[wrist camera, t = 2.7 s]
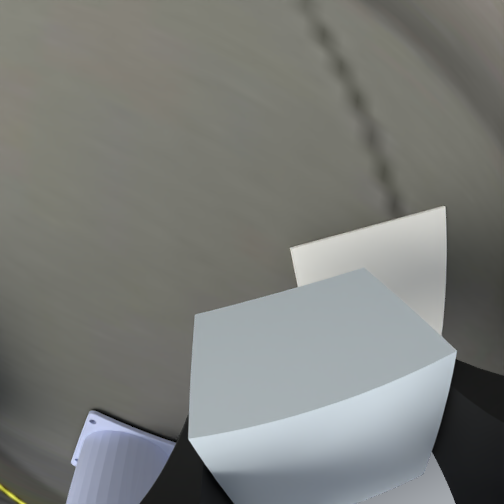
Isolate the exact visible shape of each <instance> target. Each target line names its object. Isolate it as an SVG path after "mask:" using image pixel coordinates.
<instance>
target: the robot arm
mask: <svg viewBox="0 0 504 504" xmlns="http://www.w3.org/2000/svg"><path fill="white" fill-rule="evenodd" d="M188 429H189V414H188V417H187V419H186V422H185V424H184V426H183V429H182V431H181V433H180V436H179V438H178V440H177V442H176V443H175V442H172V441H169V440H166V439H163V438H161V437H158V436H155V435H152V434H150V433H147V432H144V431H142V430H139V429H137V428H134V427H132V426H129V425H127V424H124V423H122V422H119V421H117V420H115V419H113V418H110V417H108V416H106V415H104V414H101V413H99V412H97V411H93V410H92V411H90V412H89V414H88V416H87V419H86V421H85V424H84V427H83V429H82V432H81V435H80V438H79V440H78V443H77V446H76V449H75V452H74V455H73V457H72V460H71V463H72V465H74V466H75V467H76V469H75V472H74V476H73V479H72V483H71V487H70V490H69V494H68V498H67V502H66V504H234V503H233V502H232V500H231V499H230V498H229V496H228V495H227V494H226V492H225V491H224V490H223V488H222V487H221V486H220V484H219V483H218V482H217V480H216V479H215V478H214V476H213V475H212V473H211V472H210V471H209V469H208V468H207V466H206V465H205V463H204V462H203V461H202V459H201V458H200V456H199V455H198V453H197V452H196V450H195V449H194V447H193V446H192V444H191V442H190V441H189V439H188ZM432 453H433V454H434V456H435V458H436V460H437V462H438V464H439V466H440V468H441V470H442V472H443V475H444V477H445V479H446V481H447V483H448V486H449V488H450V490H451V493H452V495H453V498H454V500H455V503H456V504H504V376H503V375H499V374H496V373H492V372H489V371H485V370H483V369H480V368H477V367H474V366H472V365H469V364H466V363H464V362H461V361H459V360H457V359H455V365H454V370H453V375H452V379H451V384H450V388H449V393H448V397H447V401H446V405H445V409H444V413H443V416H442V420H441V423H440V427H439V430H438V434H437V437H436V440H435V443H434V446H433V449H432Z"/></svg>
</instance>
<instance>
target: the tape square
mask: <svg viewBox="0 0 504 504" xmlns="http://www.w3.org/2000/svg"><path fill="white" fill-rule="evenodd" d="M290 251H291V256H292V261H293V265H294V270H295V275H296V280H297V285H298V287H300V286H304V285H307V284H311V283H314V282H318V281H321V280H324V279H328V278H331V277H335V276H338V275H341V274H344V273H348V272H351V271H354V270H358V269H361V268H365V269H366V270H367V271H369V272H370V273H371V274H372V275H373V276H375V277H376V278H377V279H378V280H379V281H380V282H382V283H383V284H384V285H385V286H386V287H387V288H388V289H390V290H391V291H392V292H393V293H394V294H395V295H396V296H398V297H399V298H400V299H401V300H402V301H403V302H404V303H406V304H407V305H408V306H409V307H410V308H411V309H412V310H413V311H414V312H416V313H417V314H418V315H419V316H420V317H421V318H422V319H423V320H424V321H426V322H427V323H428V324H429V325H430V326H431V327H432V328H433V329H434V330H435V331H436V332H437V333H439V334H440V335H441V336H442V327H443V317H444V305H445V289H446V260H447V238H446V208H445V206H440V207H437V208H433V209H430V210H426V211H422V212H419V213H415V214H411V215H408V216H404V217H400V218H397V219H393V220H390V221H386V222H382V223H379V224H375V225H371V226H367V227H364V228H360V229H356V230H353V231H349V232H345V233H342V234H338V235H334V236H331V237H327V238H323V239H320V240H316V241H312V242H308V243H305V244H301V245H297V246H294V247H290Z"/></svg>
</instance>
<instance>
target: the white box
mask: <svg viewBox="0 0 504 504" xmlns="http://www.w3.org/2000/svg"><path fill="white" fill-rule="evenodd" d="M456 354H457V350H456V349H455V348H453V347H452V346H451V345H450V344H449V343H448V342H447V341H446V340H445V339H444V338H443V337H442V336H441V335H440V334H439V333H437V332H436V331H435V330H434V329H433V328H432V327H431V326H430V325H429V324H428V323H427V322H426V321H424V320H423V319H422V318H421V317H420V316H419V315H418V314H417V313H416V312H414V311H413V310H412V309H411V308H410V307H409V306H408V305H407V304H406V303H404V302H403V301H402V300H401V299H400V298H399V297H398V296H396V295H395V294H394V293H393V292H392V291H391V290H390V289H388V288H387V287H386V286H385V285H384V284H383V283H382V282H380V281H379V280H378V279H377V278H376V277H375V276H373V275H372V274H371V273H370V272H369V271H367V270H366V269H365V268H361V269H358V270H354V271H351V272H348V273H344V274H341V275H338V276H335V277H331V278H328V279H324V280H321V281H318V282H314V283H311V284H307V285H304V286H300V287H297V288H293V289H290V290H286V291H283V292H279V293H276V294H272V295H268V296H265V297H261V298H257V299H254V300H250V301H246V302H242V303H239V304H235V305H231V306H227V307H223V308H219V309H216V310H212V311H208V312H204V313H200V314H196V315H195V321H194V334H193V349H192V364H191V382H190V403H189V429H188V439H189V441H190V442H191V444H192V446H193V447H194V449H195V450H196V452H197V453H198V455H199V456H200V458H201V459H202V461H203V462H204V463H205V465H206V466H207V468H208V469H209V471H210V472H211V473H212V475H213V476H214V478H215V479H216V480H217V482H218V483H219V484H220V486H221V487H222V488H223V490H224V491H225V492H226V494H227V495H228V496H229V498H230V499H231V500H232V502H233V503H234V504H356V503H359V502H362V501H364V500H367V499H369V498H372V497H375V496H377V495H380V494H382V493H384V492H387V491H389V490H391V489H394V488H396V487H398V486H400V485H403V484H405V483H407V482H409V481H411V480H413V479H415V478H417V477H419V476H421V475H423V474H424V471H425V469H426V466H427V463H428V461H429V458H430V455H431V452H432V449H433V446H434V443H435V440H436V437H437V434H438V430H439V427H440V423H441V420H442V416H443V413H444V409H445V405H446V401H447V397H448V393H449V388H450V384H451V379H452V375H453V370H454V365H455V359H456Z"/></svg>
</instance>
